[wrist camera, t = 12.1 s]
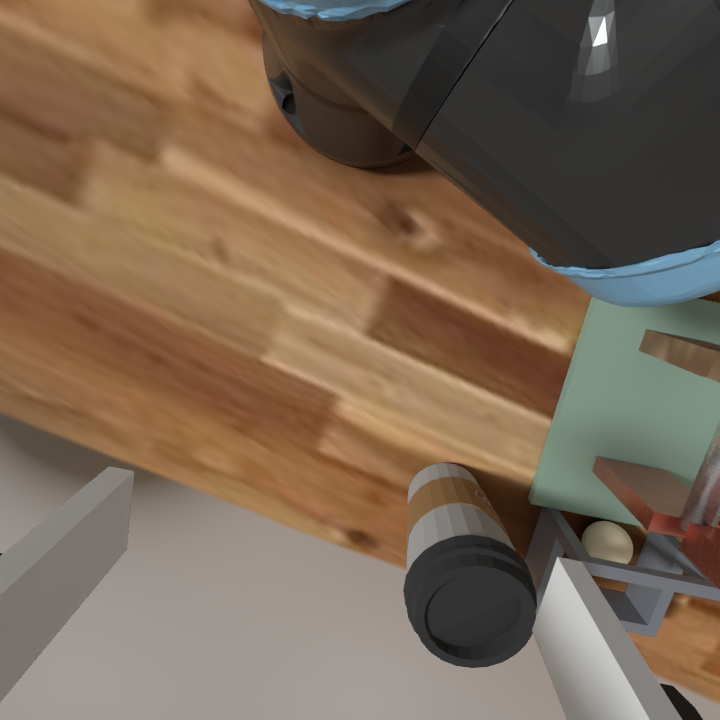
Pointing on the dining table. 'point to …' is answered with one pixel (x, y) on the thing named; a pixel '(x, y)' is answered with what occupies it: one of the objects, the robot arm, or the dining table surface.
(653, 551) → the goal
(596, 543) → the ball
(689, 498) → the stand
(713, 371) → the foosball player figure
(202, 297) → the dining table surface
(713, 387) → the mat
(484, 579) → the coffee cup
